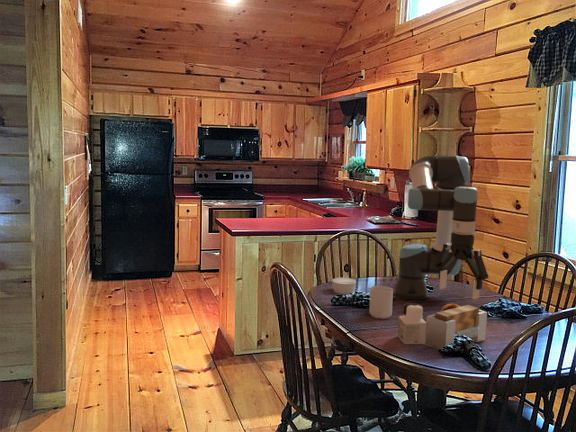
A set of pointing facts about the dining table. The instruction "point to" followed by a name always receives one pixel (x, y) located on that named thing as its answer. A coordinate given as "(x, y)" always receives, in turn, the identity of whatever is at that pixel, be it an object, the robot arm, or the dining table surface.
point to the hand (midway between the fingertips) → (458, 293)
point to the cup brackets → (452, 331)
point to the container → (412, 325)
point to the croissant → (449, 306)
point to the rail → (460, 316)
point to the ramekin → (343, 285)
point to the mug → (381, 301)
